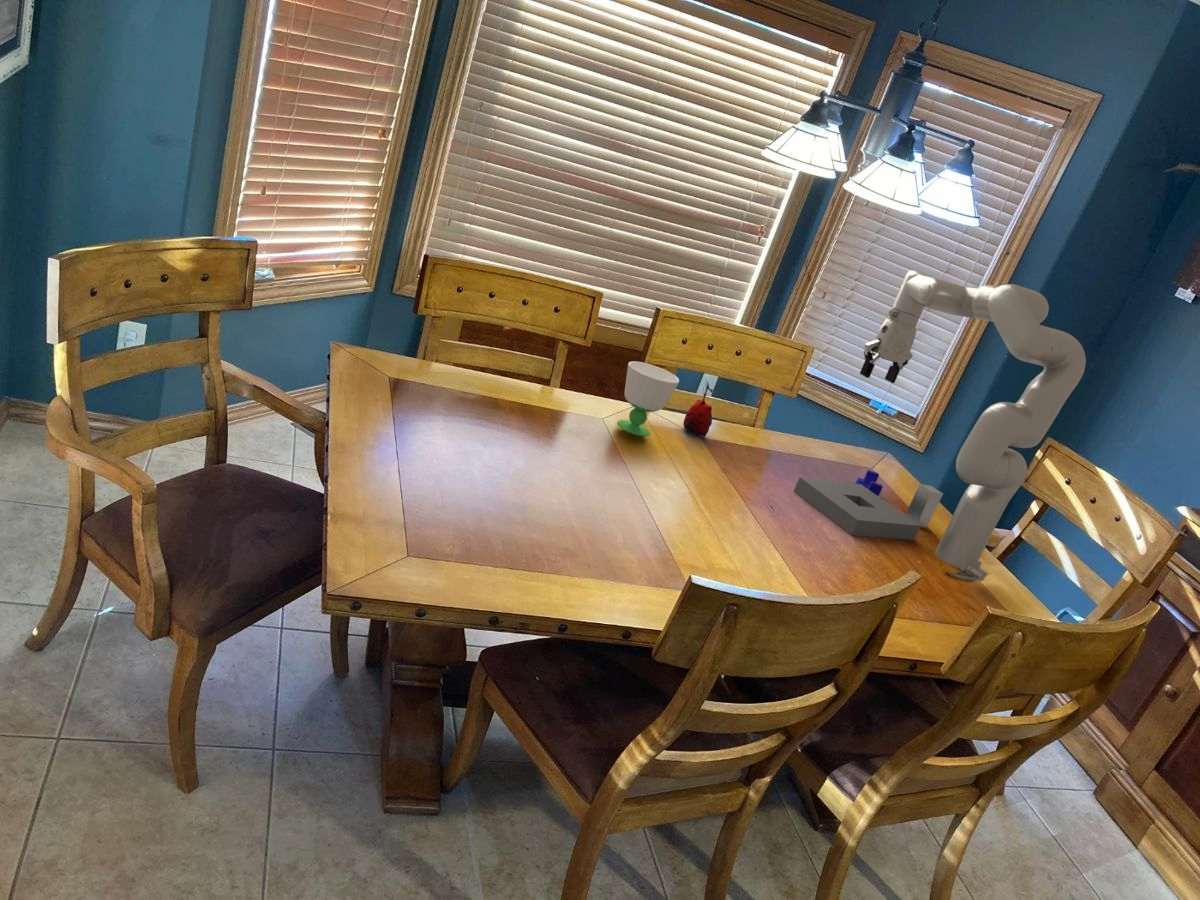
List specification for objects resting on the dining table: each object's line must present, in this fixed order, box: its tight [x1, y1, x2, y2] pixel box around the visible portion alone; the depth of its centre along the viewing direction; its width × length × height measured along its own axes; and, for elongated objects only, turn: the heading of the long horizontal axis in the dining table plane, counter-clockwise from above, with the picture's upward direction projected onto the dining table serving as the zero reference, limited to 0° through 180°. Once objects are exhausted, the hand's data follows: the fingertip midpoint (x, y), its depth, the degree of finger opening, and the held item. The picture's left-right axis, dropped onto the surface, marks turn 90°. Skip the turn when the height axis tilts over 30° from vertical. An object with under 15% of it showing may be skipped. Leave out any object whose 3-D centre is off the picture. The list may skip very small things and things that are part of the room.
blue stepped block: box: [854, 469, 883, 497], centre depth 251 cm, size 12×4×6 cm, turn 169°
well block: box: [793, 476, 922, 541], centre depth 233 cm, size 22×22×4 cm
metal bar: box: [904, 483, 944, 529], centre depth 243 cm, size 4×4×10 cm
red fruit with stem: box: [682, 381, 714, 437], centre depth 255 cm, size 8×7×15 cm
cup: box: [616, 360, 680, 437], centre depth 240 cm, size 14×14×16 cm
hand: (876, 378), depth 252 cm, fingers open, 9 cm apart
